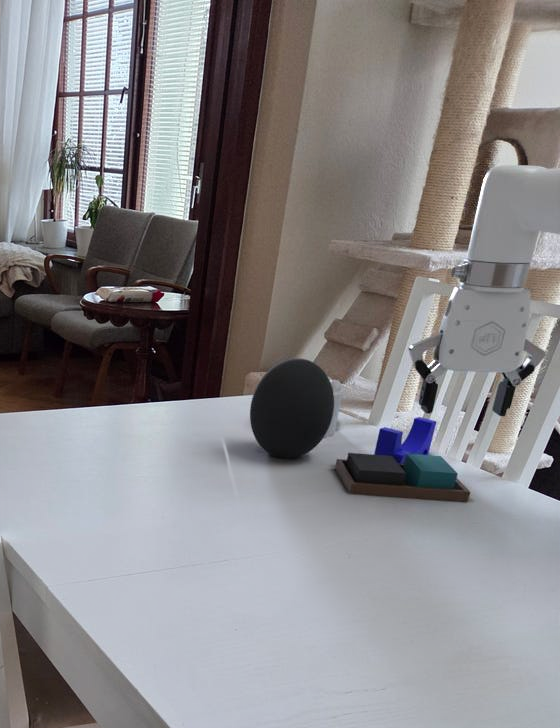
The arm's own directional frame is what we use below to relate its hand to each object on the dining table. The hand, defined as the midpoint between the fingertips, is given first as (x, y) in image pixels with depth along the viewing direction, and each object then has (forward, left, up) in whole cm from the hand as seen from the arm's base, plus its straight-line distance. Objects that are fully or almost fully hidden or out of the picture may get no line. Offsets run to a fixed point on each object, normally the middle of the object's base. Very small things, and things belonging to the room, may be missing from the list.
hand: (462, 412), depth 116 cm
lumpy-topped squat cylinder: (+15, -30, -12) cm, 36 cm away
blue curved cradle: (+2, -13, -12) cm, 18 cm away
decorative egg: (+21, -12, -12) cm, 27 cm away
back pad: (+9, -1, -11) cm, 15 cm away
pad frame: (+6, -1, -12) cm, 13 cm away
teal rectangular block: (+2, -1, -11) cm, 11 cm away
